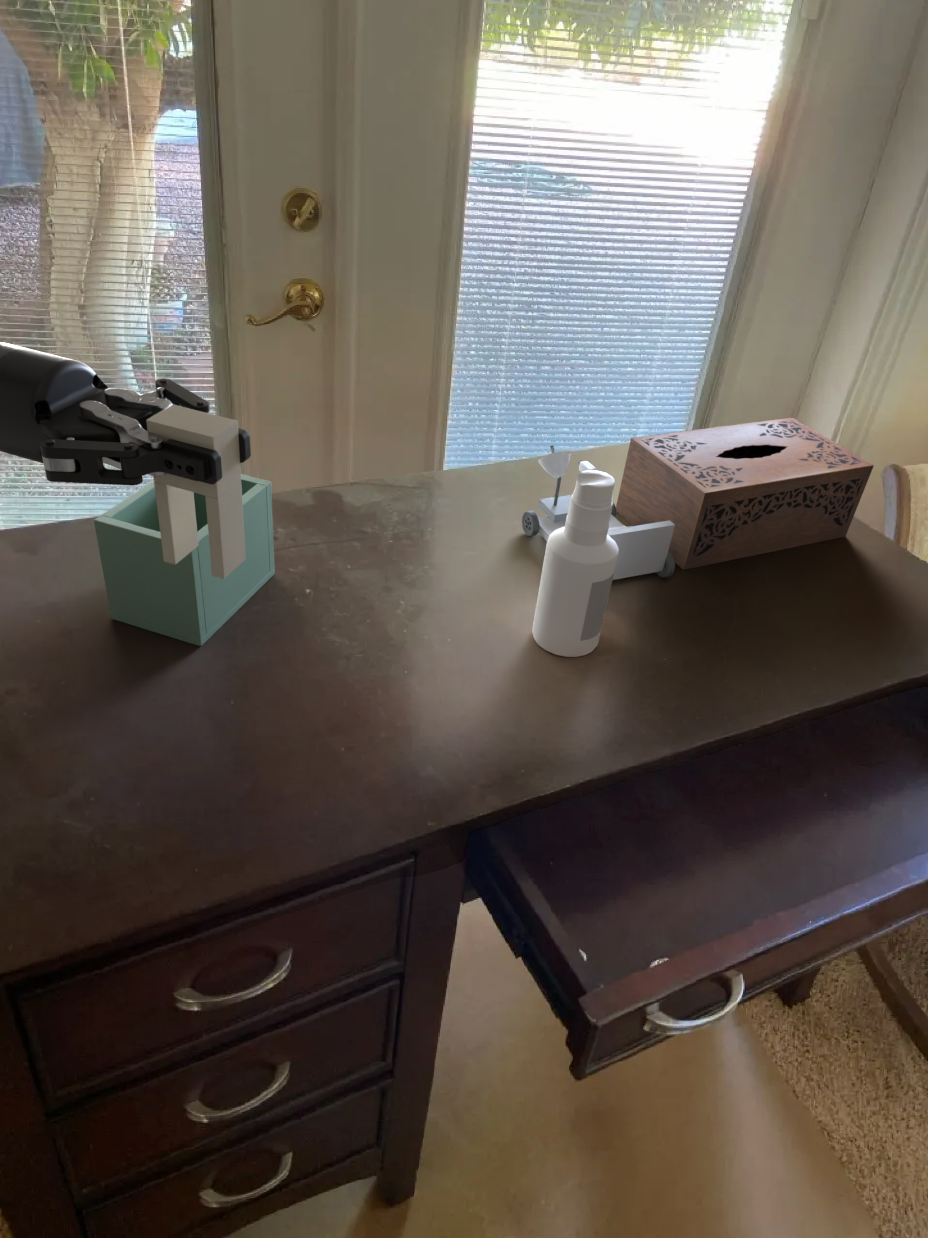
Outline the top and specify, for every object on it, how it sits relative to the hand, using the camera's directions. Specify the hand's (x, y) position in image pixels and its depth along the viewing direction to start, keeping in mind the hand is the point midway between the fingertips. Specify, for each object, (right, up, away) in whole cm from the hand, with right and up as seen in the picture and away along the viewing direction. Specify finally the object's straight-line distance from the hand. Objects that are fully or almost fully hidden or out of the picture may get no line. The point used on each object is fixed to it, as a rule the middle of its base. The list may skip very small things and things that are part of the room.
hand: (232, 457), depth 59 cm
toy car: (+30, -3, +46) cm, 55 cm away
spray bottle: (+26, -13, +31) cm, 42 cm away
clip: (-3, -6, +6) cm, 9 cm away
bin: (-12, -8, +31) cm, 34 cm away
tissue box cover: (+49, +1, +54) cm, 73 cm away
